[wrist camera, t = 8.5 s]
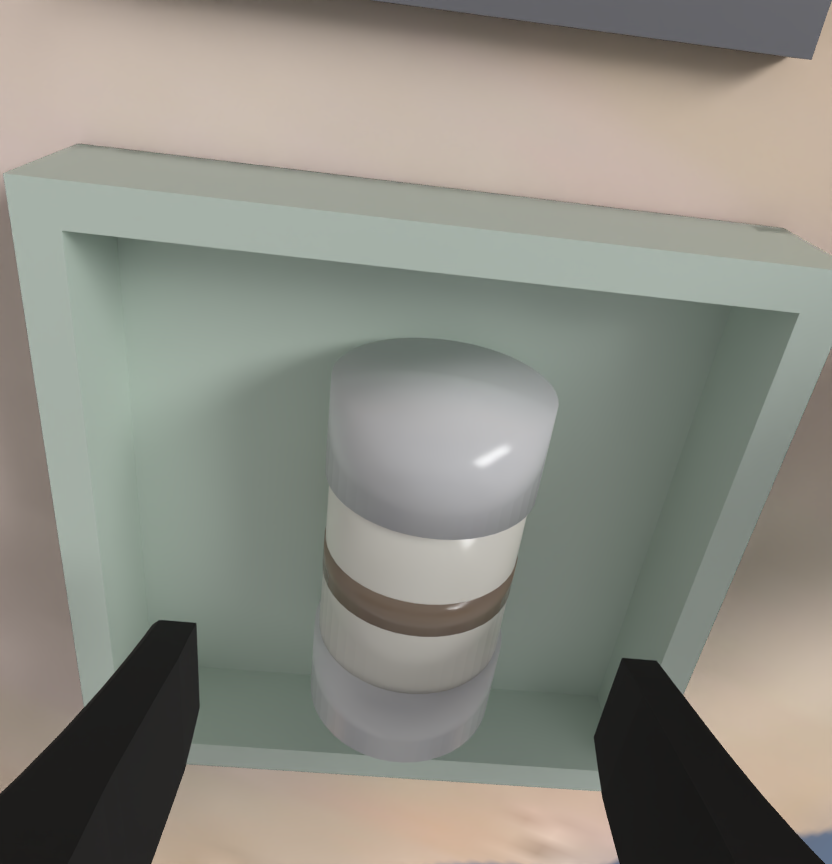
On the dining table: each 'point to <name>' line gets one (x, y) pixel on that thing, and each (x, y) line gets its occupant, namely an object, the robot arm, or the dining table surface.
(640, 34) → the fuse block
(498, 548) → the fuse
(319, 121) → the dining table surface
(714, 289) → the parts tray
